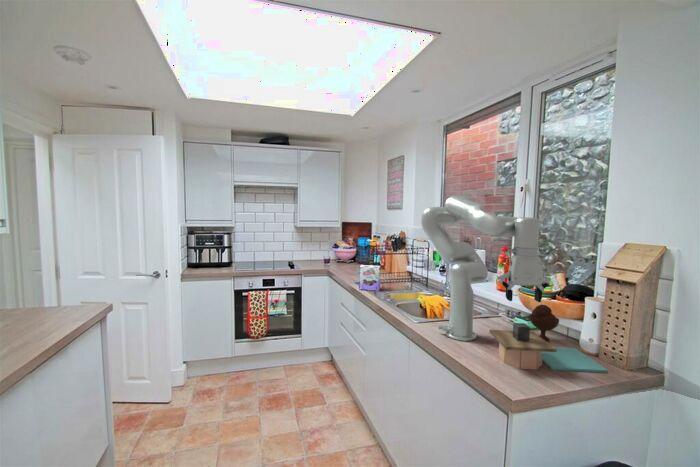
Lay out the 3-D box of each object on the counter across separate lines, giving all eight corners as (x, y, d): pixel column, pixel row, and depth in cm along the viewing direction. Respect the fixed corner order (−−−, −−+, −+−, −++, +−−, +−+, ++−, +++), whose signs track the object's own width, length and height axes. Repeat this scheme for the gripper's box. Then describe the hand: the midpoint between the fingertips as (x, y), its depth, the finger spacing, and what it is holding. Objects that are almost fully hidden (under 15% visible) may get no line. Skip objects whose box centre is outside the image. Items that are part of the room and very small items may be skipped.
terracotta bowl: (508, 368, 110) (509, 347, 110) (494, 352, 123) (495, 334, 123) (547, 370, 109) (548, 349, 109) (529, 353, 122) (530, 335, 122)
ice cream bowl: (562, 345, 130) (565, 309, 130) (532, 342, 133) (534, 306, 132) (552, 336, 141) (554, 302, 140) (524, 333, 143) (526, 300, 142)
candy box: (358, 290, 218) (359, 265, 217) (359, 288, 224) (360, 264, 223) (379, 291, 216) (379, 266, 215) (379, 289, 222) (380, 265, 221)
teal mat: (551, 369, 110) (552, 367, 110) (526, 347, 128) (527, 345, 127) (608, 372, 108) (608, 370, 108) (574, 350, 126) (574, 348, 126)
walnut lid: (506, 349, 108) (507, 332, 108) (489, 332, 124) (490, 316, 124) (556, 352, 107) (557, 334, 107) (532, 334, 123) (533, 318, 123)
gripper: (504, 253, 111) (502, 302, 112) (557, 254, 109) (554, 304, 110) (496, 250, 118) (494, 297, 119) (545, 252, 117) (543, 298, 118)
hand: (523, 300), depth 115 cm, fingers open, 9 cm apart
